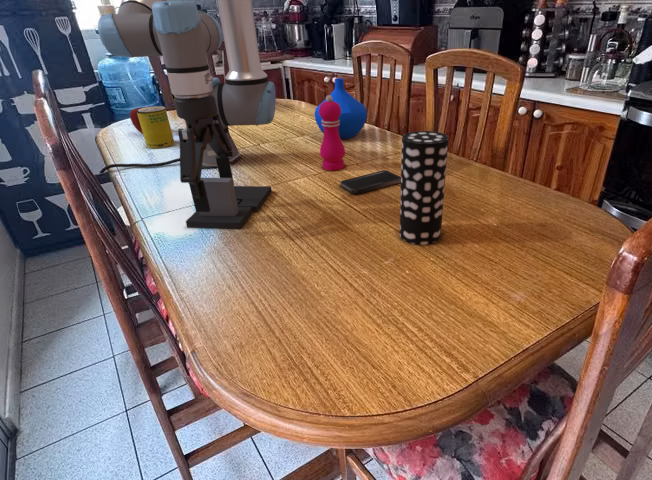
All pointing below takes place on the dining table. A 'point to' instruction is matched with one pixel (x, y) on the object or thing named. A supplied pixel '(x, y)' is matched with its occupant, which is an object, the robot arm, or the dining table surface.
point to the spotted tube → (422, 186)
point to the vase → (345, 112)
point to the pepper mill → (331, 136)
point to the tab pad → (220, 220)
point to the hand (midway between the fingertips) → (216, 197)
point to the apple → (136, 119)
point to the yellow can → (155, 127)
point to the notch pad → (252, 196)
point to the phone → (370, 182)
